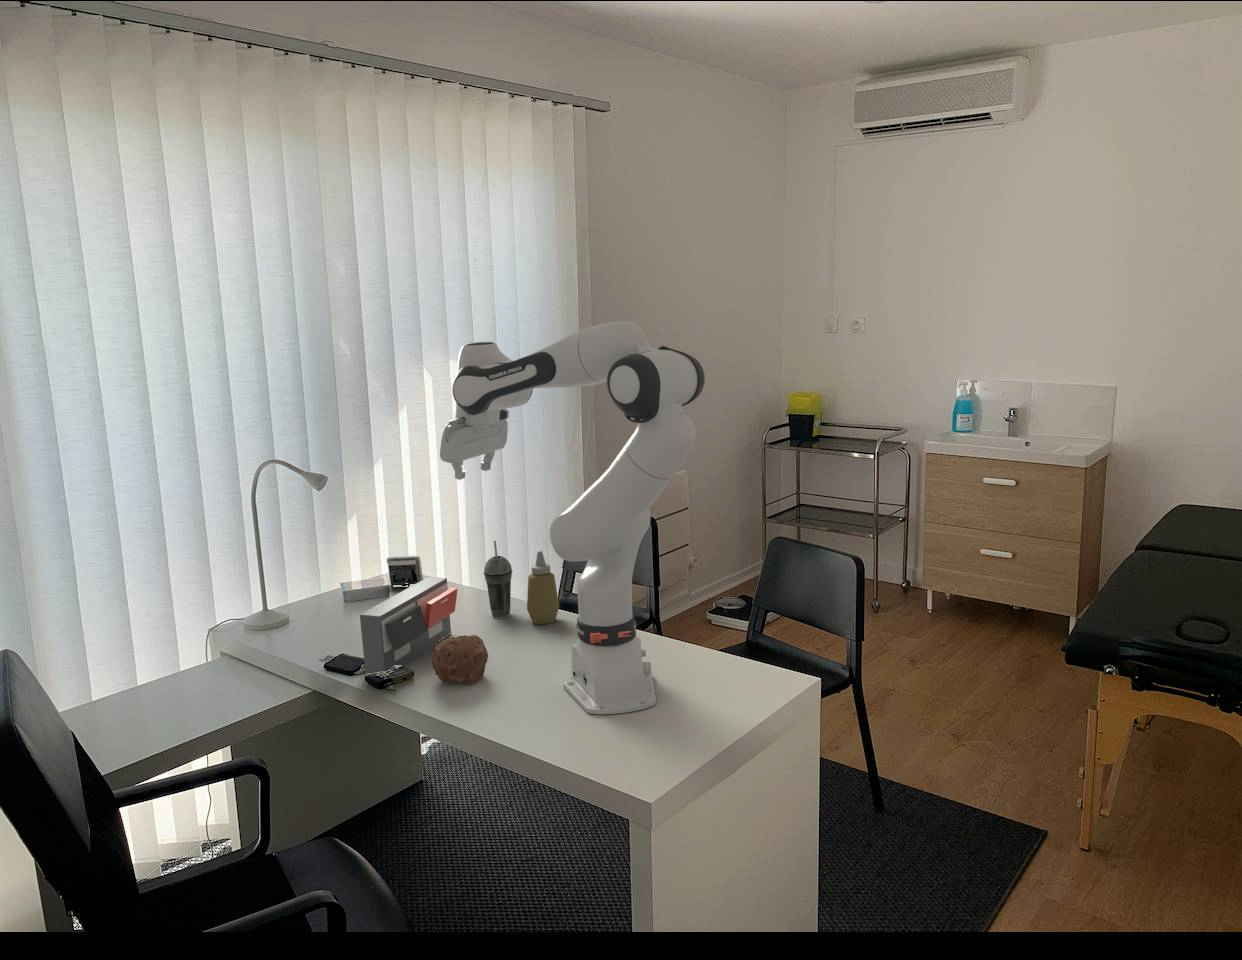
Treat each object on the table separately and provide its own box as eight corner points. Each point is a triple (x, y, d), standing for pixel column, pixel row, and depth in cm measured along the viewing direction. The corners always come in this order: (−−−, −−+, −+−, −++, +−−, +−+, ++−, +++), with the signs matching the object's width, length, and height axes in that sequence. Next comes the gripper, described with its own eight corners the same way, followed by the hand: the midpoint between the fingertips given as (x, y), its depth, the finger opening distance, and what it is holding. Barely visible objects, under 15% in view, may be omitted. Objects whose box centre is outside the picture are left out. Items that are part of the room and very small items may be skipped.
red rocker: (455, 611, 223) (458, 588, 221) (428, 628, 212) (431, 604, 210) (450, 609, 223) (453, 586, 222) (423, 626, 212) (426, 602, 211)
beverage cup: (517, 610, 241) (513, 535, 237) (512, 619, 233) (506, 543, 230) (490, 610, 241) (485, 536, 238) (483, 620, 234) (478, 543, 230)
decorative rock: (454, 697, 189) (451, 650, 187) (419, 684, 196) (415, 639, 194) (501, 675, 199) (498, 631, 197) (465, 664, 206) (462, 621, 204)
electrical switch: (424, 582, 268) (420, 552, 265) (421, 590, 263) (417, 559, 260) (391, 584, 268) (387, 554, 265) (387, 591, 263) (384, 561, 260)
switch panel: (451, 633, 226) (447, 578, 223) (386, 678, 200) (380, 616, 197) (433, 631, 227) (428, 576, 225) (365, 675, 202) (359, 614, 199)
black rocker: (427, 630, 210) (420, 605, 209) (397, 649, 199) (390, 623, 198) (422, 631, 210) (415, 606, 209) (392, 650, 199) (385, 624, 198)
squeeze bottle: (556, 627, 227) (552, 556, 224) (524, 626, 228) (519, 556, 225) (563, 615, 235) (559, 547, 232) (532, 615, 236) (528, 547, 233)
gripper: (457, 424, 194) (455, 487, 198) (513, 410, 211) (510, 468, 215) (433, 419, 197) (431, 481, 201) (491, 405, 214) (488, 462, 218)
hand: (472, 474), depth 208 cm, fingers open, 8 cm apart
